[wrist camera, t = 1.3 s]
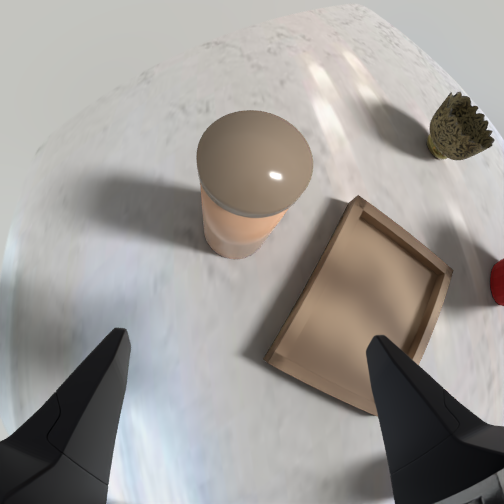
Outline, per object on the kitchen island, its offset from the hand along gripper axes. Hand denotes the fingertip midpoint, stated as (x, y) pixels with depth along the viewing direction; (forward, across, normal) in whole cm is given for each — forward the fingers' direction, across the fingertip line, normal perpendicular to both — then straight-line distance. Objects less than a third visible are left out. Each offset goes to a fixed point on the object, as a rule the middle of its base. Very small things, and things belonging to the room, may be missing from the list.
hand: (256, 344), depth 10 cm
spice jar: (+15, 0, +4) cm, 16 cm away
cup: (+24, -24, -5) cm, 35 cm away
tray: (+10, -12, +9) cm, 18 cm away
